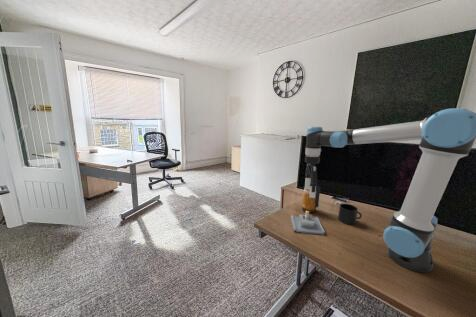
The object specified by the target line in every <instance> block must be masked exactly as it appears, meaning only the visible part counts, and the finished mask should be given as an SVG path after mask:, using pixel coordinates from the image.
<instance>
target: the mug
mask: <svg viewBox="0 0 476 317" xmlns="http://www.w3.org/2000/svg"><path fill="white" fill-rule="evenodd" d="M358 214H359V217H357V216H358ZM362 216H363V215H362V213H361V212H360V211H359V210H358V207H356V206H354V205H353V204H349V203H341V204H339V209H338V216H337V217H338V221H339V222H341V223H343V224H346V225H355V224H356V223H357V220H359V219H361V218H362Z"/></svg>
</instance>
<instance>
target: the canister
mask: <svg viewBox="0 0 476 317" xmlns="http://www.w3.org/2000/svg"><path fill="white" fill-rule="evenodd" d="M310 184H311V181H310ZM313 184H315V183H313ZM317 185H318V186H316V193H315V198H310V197H309V196H310V189H305V187H304V189H303V191H302V192H303V193H302V198H301V199H302V200H301V210H302V211H304V212H306V211H309V213H315V212H316V208H318V207H320V206H319V201H320V193H321V190H322V187H321V186H320V185H319V184H317Z"/></svg>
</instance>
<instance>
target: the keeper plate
mask: <svg viewBox="0 0 476 317" xmlns="http://www.w3.org/2000/svg"><path fill="white" fill-rule="evenodd" d="M304 215H305V219H309V215H310V212H309V211H305V214H304ZM313 219H314V228H311V227H301V225H300V222H299V216H294V215H293V214H290V220H291V225H293V226H292V230H294V231H296V232H295V233H299V232H301V234H312V235H321V236H325V234H326V231H325V229H324V228H323V226H322V224H321V221H320V219H319V217H318V216H315V217H313ZM294 231H293V232H294Z"/></svg>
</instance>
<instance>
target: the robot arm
mask: <svg viewBox="0 0 476 317" xmlns="http://www.w3.org/2000/svg"><path fill="white" fill-rule="evenodd" d="M407 141H420V142H419V146H418V148H419V149H420V150H421V152H422V154H421V156H420V158H419V162H418V163H417V166H416V169H415V172H414V175H413V176H412V180H411V182H410V185H409V187H408V190H407V192H406V195H405V198H404V200H403V203H402V206H401V208H400V210H398V211H395V212H394V213H393V215H392V218H391V220H390V222H389V225H388V226H387V227H386V228H385V229H384V231H383V235H382V237H383V241H384V243H385V244H386V246H387V249H386V250H387V255H388V257H389V259H391V260H392V261H394V262H395V263H396V264H398V265H399V266H401V267H404V268H406V269H409V270H410V271H415V272H419V273H430V272H432V270H433V268H434V260H433V256H432V245H433V241H434V237H435V233H436V228H437V226H438V217H436V216H435V212H436V210H437V207H438V206H439V204H440V201H441V200H442V198H443V194H444V193H445V191H446V189H447V186H448V184H449V181H450V180H451V179H450V178H451V176H452V174H453V173H454V170H455V168H456V166H457V163H458V161H459V160H460V159H462V158H465V157H467V156H469V153H470V151H471V150H472V147H473V146H474V144H475V141H476V112H473V111H472V110H469V109H467V108H460V107H457V108H453V107H451V108H445V109H441V110H440V111H437V112H435V113H433V114H432V115H430V116H428V117H425V118H424V119H423V120H416V121H409V122H402V123H394V124H393V123H392V124H388V125H387V124H386V125H380V126H371V127H363V128H357V129H347V130H334V131H333V130H332V131H331V130H323V127H321V126H308V127H307V130H306V141H305V142H306V143H305V150H304V151H305V152H304V153H305V155H304V162H305V164H306V168H305V174H304V176H305V182H304V188H305V189H310V196H309V197H310V198H315V193H316V186H318V185H319V184H318V167H317V166H316V165H317V164H320V162H321V157H320V156H321V152H322V148H321V147H331V148H344V147H345V146H348V145H349V146H350V145H362V144H364V145H365V144H376V143H391V142H392V143H393V142H407ZM310 182H311V184H310ZM313 183H315V184H313Z"/></svg>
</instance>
